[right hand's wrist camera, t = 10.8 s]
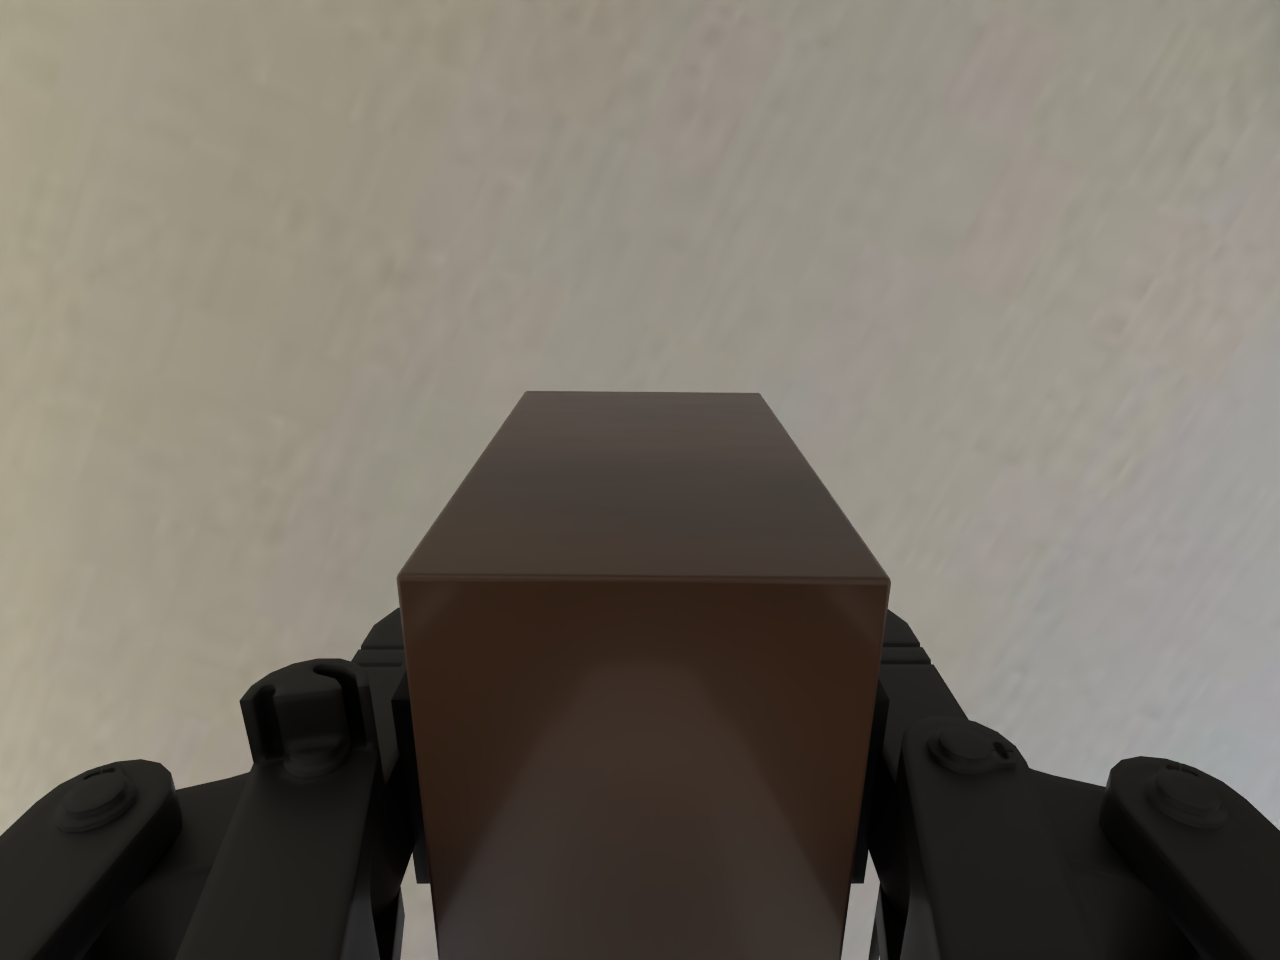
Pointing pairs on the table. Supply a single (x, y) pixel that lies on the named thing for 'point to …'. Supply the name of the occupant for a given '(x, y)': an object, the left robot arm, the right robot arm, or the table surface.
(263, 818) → the right robot arm
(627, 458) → the walnut beam
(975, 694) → the table surface
